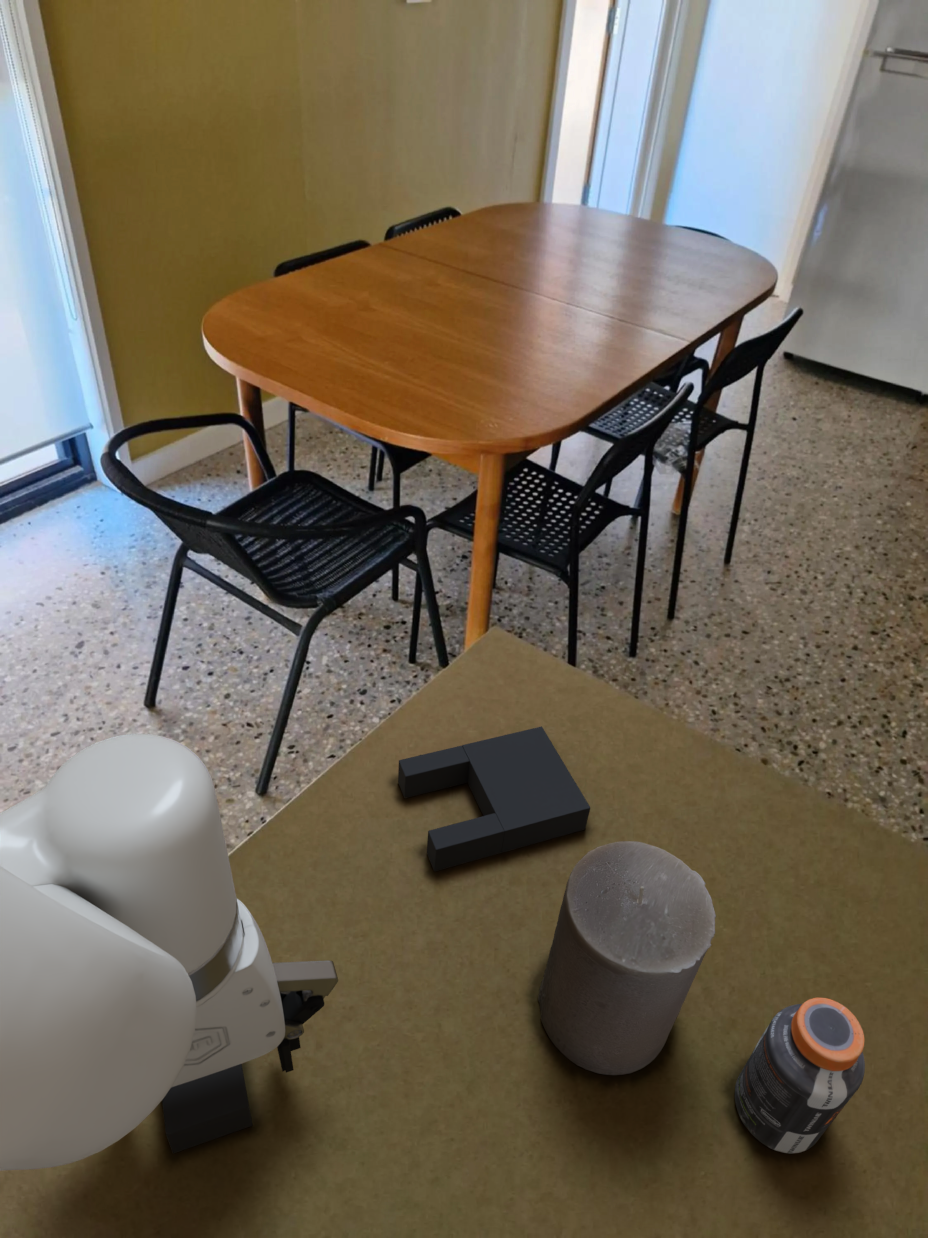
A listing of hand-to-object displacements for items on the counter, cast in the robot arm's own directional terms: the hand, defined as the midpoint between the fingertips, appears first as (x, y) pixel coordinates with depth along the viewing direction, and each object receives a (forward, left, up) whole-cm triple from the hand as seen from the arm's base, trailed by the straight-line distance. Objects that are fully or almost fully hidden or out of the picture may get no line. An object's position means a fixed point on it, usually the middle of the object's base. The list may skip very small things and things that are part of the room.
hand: (209, 1075), depth 57 cm
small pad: (0, 0, -3) cm, 3 cm away
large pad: (+27, +17, -3) cm, 31 cm away
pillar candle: (+28, -3, -3) cm, 28 cm away
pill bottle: (+36, -13, -3) cm, 38 cm away
